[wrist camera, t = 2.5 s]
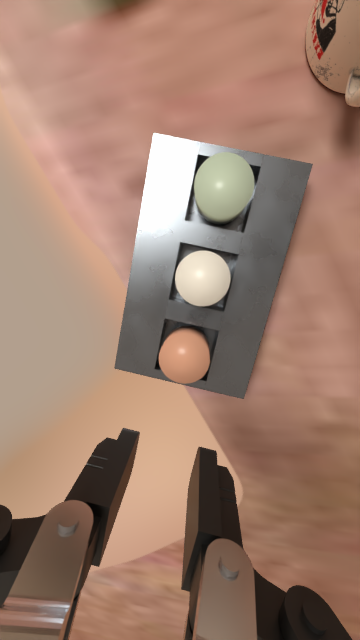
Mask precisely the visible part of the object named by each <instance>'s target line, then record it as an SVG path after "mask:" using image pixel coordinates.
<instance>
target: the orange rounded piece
mask: <svg viewBox="0 0 360 640" xmlns="http://www.w3.org/2000/svg"><path fill="white" fill-rule="evenodd" d="M209 364H210V354H209V343H208V340H207V338H206V336H205V334H204V333H203V332H202V331H201V330H199V329H198V328H196V327H193V326H180V327H177V328H175V329H174V330H172V331H171V332H170V333H169V334H168V336H167V338H166V340H165V342H164V344H163V346H162V348H161V350H160V353H159V365H160V368H161V370H162V371H163V373H164V374H165V375H166V376H167V377H168V378H169V379H171V380H172V381H175V382H177V383H182V384H187V383H193V382H195V381H198V380H199V379H201V378H202V377H203V376H204V375H205V373H206V372H207V370H208V368H209Z"/></svg>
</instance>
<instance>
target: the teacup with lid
mask: <svg viewBox="0 0 360 640" xmlns="http://www.w3.org/2000/svg"><path fill="white" fill-rule="evenodd" d="M306 54H307V58H308V62H309V65H310V67H311V69H312V71H313V73H314V74H315V76H316V77H317V79H318V80H319V81H320V82H321V83H322V84H324V85H325V86H326V87H328V88H329V89H331V90H334V91H336V92H339V93H345V100H346V103H347V104H348V105H350V106H354V107H360V0H316V2H315V4H314V6H313V9H312V11H311V14H310V17H309V21H308V25H307V30H306Z"/></svg>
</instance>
